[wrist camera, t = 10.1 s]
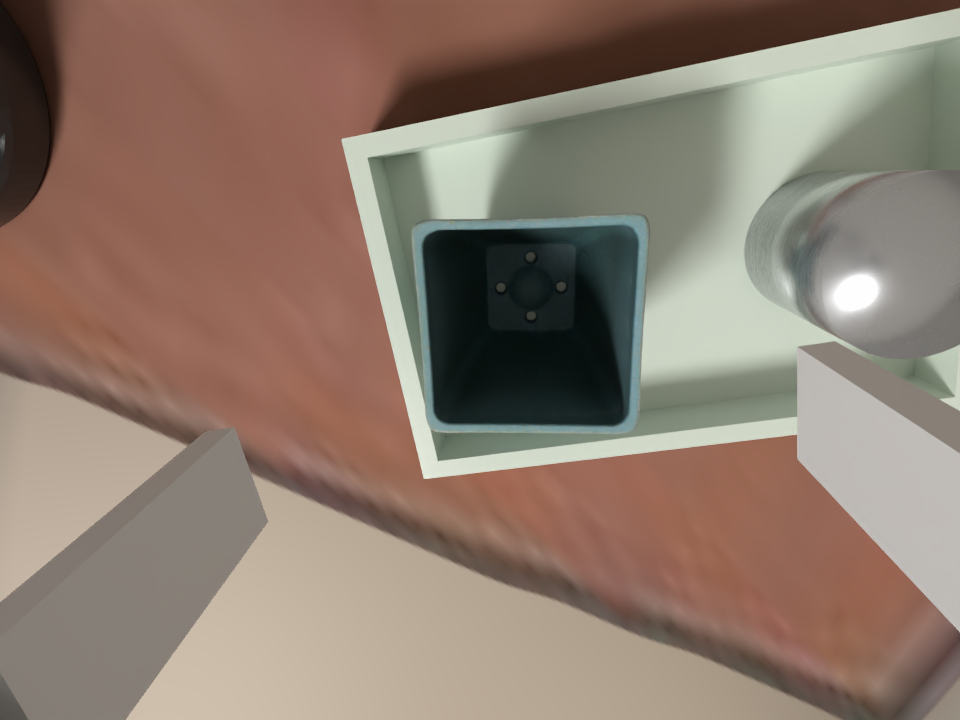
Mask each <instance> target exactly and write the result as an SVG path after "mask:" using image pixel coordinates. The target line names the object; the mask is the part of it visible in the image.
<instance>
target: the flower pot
mask: <svg viewBox="0 0 960 720" xmlns="http://www.w3.org/2000/svg"><path fill="white" fill-rule="evenodd" d="M649 244H650V225H649V221H648V218H647V217H646V216H645V215H642V214H639V213H621V214H608V215H587V216H566V217H540V218H539V217H538V218H502V219H428V220H422V221H420V222H418V223H416V224H415V225H414V227H413V229H412V251H413V258H414V269H415V279H416V291H417V299H418V300H417V303H418V310H419V324H420V327H419V328H420V337H421V348H422V362H423V379H424V394H425V415H426V420H427V423H428V426H429V427H430V429H432V430H433V431H435V432H443V433H487V432H488V433H568V434H580V433H581V434H584V433H585V434H624V433H629V432H632V431H633V430H635V428H636V426H637V424H638V421H639V411H640V387H641V364H642V363H641V361H642V344H643V325H644V312H645V298H646V283H647V269H648V255H649ZM529 252H533V253H534V254H535V256H536V258H535V260H534V261H533V262H529V261H527V260H526V254H527V253H529ZM559 282H564V283H565V284H566V289H565V290H564V291H558V290H557V288H556V285H557V283H559ZM498 283H503V284H505V286H506V288H505V291H503V292H499V291H498V290H497V288H496V287H497V284H498ZM531 311H533V312H535V314H536V318H535V319H533V320H529V319H528V318H527V313H528V312H531Z"/></svg>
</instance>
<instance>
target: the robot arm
mask: <svg viewBox="0 0 960 720" xmlns="http://www.w3.org/2000/svg"><path fill="white" fill-rule="evenodd" d="M49 136H50V132H49V116H48V108H47V102H46V97H45V93H44V89H43V85H42V82H41V78H40V75H39V73H38V70H37V67H36V64H35V62H34V60H33V57H32V55H31V53H30V51H29V49H28V46H27V44H26V42H25V41H24V39H23V37H22V35H21V33H20V32H19V30H18V28H17V27H16V25H15V24H14V22H13V20H12V19H11V17H10V16H9V15H8V13H7V12H6V10H5V9H4V8H3V7H2V5H1V4H0V227H1V226H3V225H5V224H6V223H8V222H10V221H11V220H12V219H14V218H15V217H16V216H17V215H18V214H19V213H20V212H21V211H22V210H23V209H24V208H25V207H26V206H27V205H28V203H29V202H30V201H31V199H32V198H33V196H34V194H35V193H36V191H37V189H38V187H39V185H40V182H41V180H42V177H43V174H44V171H45V167H46V163H47V158H48V151H49ZM797 459H798V460H799V461H800V462H801V463H802V464H803V465H804V466H805V468H806V469H807V470H808V471H809V472H810V473H811V474H812V475H813V476H814V477H815V478H816V479H817V480H818V481H819V482H820V484H821V485H822V486H823V487H824V488H825V489H826V490H827V491H828V492H829V493H830V494H831V495H832V496H833V497H834V498H835V499H836V501H837V502H838V503H839V504H840V505H841V506H842V507H843V508H844V509H845V510H846V511H847V512H848V513H849V514H850V515H851V517H852V518H853V519H854V520H855V521H856V522H857V523H858V524H859V525H860V526H861V527H862V528H863V529H864V530H865V531H866V533H867V534H868V535H869V536H870V537H871V538H872V539H873V540H874V541H875V542H876V543H877V544H878V545H879V546H880V547H881V549H882V550H883V551H884V552H885V553H886V554H887V555H888V556H889V557H890V558H891V559H892V560H893V561H894V562H895V563H896V564H897V566H898V567H899V568H900V569H901V570H902V571H903V572H904V573H905V574H906V575H907V576H908V577H909V578H910V579H911V580H912V582H913V583H914V584H915V585H916V586H917V587H918V588H919V589H920V590H921V591H922V592H923V593H924V594H925V595H926V596H927V598H928V599H929V600H930V601H931V602H932V603H933V604H934V605H935V606H936V607H937V608H938V609H939V610H940V611H941V612H942V614H943V615H944V616H945V617H946V618H947V619H948V620H949V621H950V622H951V623H952V624H953V625H954V626H955V627H956V628H957V629H958V631H959V632H960V411H959V410H957V409H955V408H954V407H952V406H950V405H948V404H946V403H945V402H943V401H941V400H939V399H937V398H936V397H934V396H932V395H930V394H929V393H927V392H925V391H923V390H921V389H920V388H918V387H916V386H914V385H912V384H911V383H909V382H907V381H905V380H904V379H902V378H900V377H898V376H896V375H895V374H893V373H891V372H889V371H887V370H886V369H884V368H882V367H880V366H878V365H877V364H875V363H873V362H871V361H870V360H868V359H866V358H864V357H862V356H861V355H859V354H857V353H855V352H853V351H852V350H850V349H848V348H846V347H845V346H843V345H841V344H839V343H837V342H836V341H833V342H826V343H819V344H812V345H805V346H798V347H797ZM267 522H268V520H267V517H266V514H265V511H264V509H263V506H262V503H261V501H260V498H259V495H258V492H257V489H256V487H255V484H254V481H253V478H252V475H251V472H250V470H249V467H248V464H247V461H246V459H245V456H244V453H243V450H242V447H241V445H240V442H239V439H238V436H237V433H236V431H235V428H234V427H233V428H226V429H219V430H212V431H206V432H204V433H203V434H202V435H201V436H200V437H198V438H197V439H196V440H195V441H194V442H192V443H191V444H190V445H189V446H188V447H186V448H185V449H184V450H183V451H182V452H181V453H179V454H178V455H177V456H176V457H174V458H173V459H172V460H171V461H170V462H168V463H167V464H166V465H165V466H164V467H162V468H161V469H160V470H159V471H158V472H156V473H155V474H154V475H153V476H152V477H150V478H149V479H148V480H147V481H146V482H144V483H143V484H142V485H141V486H140V487H138V488H137V489H136V490H135V491H133V492H132V493H131V494H130V495H129V496H127V497H126V498H125V499H124V500H123V501H122V502H120V503H119V504H118V505H117V506H115V507H114V508H113V509H112V510H111V511H110V512H108V513H107V514H106V515H105V516H103V518H101V519H100V520H99V521H97V522H96V523H95V524H94V525H93V526H91V527H90V528H89V529H88V530H87V531H85V532H84V533H83V534H82V535H81V536H80V537H78V538H77V539H76V540H75V541H73V542H72V543H71V544H70V545H69V546H67V547H66V548H65V549H64V550H63V551H62V552H60V553H59V554H58V555H57V556H55V557H54V558H53V559H52V560H51V561H49V562H48V563H47V564H46V565H45V566H43V567H42V568H41V569H40V570H39V571H37V572H36V573H35V574H34V575H33V576H31V577H30V578H29V579H28V580H27V581H26V582H24V583H23V584H22V585H21V586H19V587H18V588H17V589H16V590H15V591H13V592H12V593H11V594H10V595H9V596H8V597H7V598H5V599H4V600H3V601H1V602H0V720H126V718H127V717H128V715H129V714H130V713H131V711H132V710H133V708H134V707H135V706H136V704H137V703H138V702H139V700H140V699H141V697H142V696H143V695H144V693H145V692H146V690H147V689H148V688H149V686H150V685H151V684H152V682H153V681H154V679H155V678H156V677H157V675H158V674H159V672H160V671H161V669H162V668H163V667H164V665H165V664H166V663H167V661H168V660H169V659H170V657H171V655H172V654H173V653H174V651H175V650H176V649H177V647H178V646H179V645H180V643H181V642H182V640H183V639H184V638H185V636H186V635H187V634H188V632H189V631H190V629H191V628H192V627H193V625H194V624H195V622H196V621H197V620H198V618H199V617H200V615H201V614H202V613H203V611H204V610H205V608H206V607H207V606H208V604H209V603H210V601H211V600H212V599H213V597H214V596H215V595H216V593H217V591H218V590H219V589H220V588H221V586H222V585H223V583H224V582H225V581H226V579H227V578H228V577H229V575H230V574H231V572H232V571H233V570H234V568H235V567H236V565H237V564H238V562H239V561H240V560H241V558H242V557H243V556H244V554H245V553H246V552H247V550H248V549H249V547H250V546H251V545H252V543H253V542H254V540H255V539H256V537H257V536H258V535H259V533H260V532H261V531H262V529H263V528H264V527H265V525H266V524H267Z"/></svg>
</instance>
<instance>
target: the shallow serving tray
mask: <svg viewBox="0 0 960 720" xmlns="http://www.w3.org/2000/svg"><path fill="white" fill-rule="evenodd" d="M341 140H342V144H343V148H344V152H345V156H346V160H347V164H348V168H349V173H350V177H351V181H352V185H353V189H354V193H355V197H356V201H357V205H358V209H359V214H360V218H361V222H362V226H363V230H364V234H365V238H366V242H367V246H368V251H369V255H370V259H371V263H372V267H373V271H374V275H375V279H376V283H377V288H378V292H379V296H380V300H381V304H382V308H383V312H384V316H385V320H386V324H387V329H388V333H389V337H390V341H391V345H392V349H393V353H394V357H395V361H396V366H397V370H398V374H399V378H400V382H401V386H402V390H403V394H404V398H405V402H406V407H407V411H408V415H409V419H410V423H411V427H412V431H413V435H414V439H415V444H416V448H417V452H418V456H419V460H420V464H421V468H422V472H423V476H424V479H429V478H437V477H445V476H454V475H462V474H470V473H479V472H487V471H496V470H504V469H512V468H521V467H529V466H537V465H546V464H554V463H562V462H571V461H579V460H587V459H596V458H604V457H613V456H621V455H629V454H638V453H646V452H654V451H663V450H671V449H679V448H688V447H696V446H704V445H713V444H721V443H729V442H738V441H746V440H755V439H763V438H771V437H780V436H788V435H796V434H797V347H798V346H805V345H812V344H819V343H826V342H833V341H836V342H837V343H839V344H841V345H843V346H845V347H846V348H848V349H850V350H852V351H853V352H855V353H857V354H859V355H861V356H862V357H864V358H866V359H868V360H870V361H871V362H873V363H875V364H877V365H878V366H880V367H882V368H884V369H886V370H887V371H889V372H891V373H893V374H895V375H896V376H898V377H900V378H902V379H904V380H905V381H907V382H909V383H911V384H912V385H914V386H916V387H918V388H920V389H921V390H923V391H925V392H927V393H929V394H930V395H932V396H934V397H936V398H937V399H939V400H941V401H943V402H945V403H946V404H948V405H950V406H952V407H954V408H955V409H957V410H959V411H960V345H958V346H956V347H954V348H951V349H949V350H946V351H944V352H941V353H938V354H935V355H931V356H927V357H921V358H915V359H890V358H884V357H879V356H875V355H872V354H869V353H867V352H864V351H862V350H860V349H858V348H856V347H854V346H852V345H850V344H849V343H847V342H845V341H843V340H841V339H839V338H837V337H836V336H834V335H832V334H830V333H828V332H826V331H824V330H823V329H821V328H819V327H817V326H815V325H813V324H811V323H810V322H808V321H806V320H804V319H802V318H800V317H798V316H796V315H795V314H793V313H791V312H789V311H787V310H785V309H783V308H782V307H780V306H778V305H776V304H774V303H772V302H771V301H769V300H768V299H766V298H765V297H764V296H763V295H762V294H761V293H760V292H759V291H758V290H757V289H756V288H755V286H754V285H753V283H752V282H751V280H750V278H749V275H748V273H747V269H746V265H745V258H744V246H745V240H746V235H747V232H748V229H749V226H750V224H751V222H752V219H753V218H754V216H755V214H756V213H757V211H758V210H759V208H760V207H761V206H762V204H763V203H764V202H765V201H766V200H767V199H768V198H769V196H770V195H772V194H773V193H774V192H775V191H776V190H777V189H779V188H780V187H782V186H783V185H785V184H786V183H788V182H789V181H791V180H793V179H795V178H797V177H800V176H803V175H805V174H809V173H813V172H817V171H826V170H960V8H959V9H954V10H949V11H944V12H940V13H935V14H930V15H925V16H921V17H916V18H911V19H907V20H902V21H897V22H892V23H888V24H883V25H878V26H874V27H869V28H864V29H859V30H855V31H850V32H845V33H840V34H836V35H831V36H826V37H822V38H817V39H812V40H807V41H803V42H798V43H793V44H789V45H784V46H779V47H774V48H770V49H765V50H760V51H755V52H751V53H746V54H741V55H737V56H732V57H727V58H722V59H718V60H713V61H708V62H704V63H699V64H694V65H689V66H685V67H680V68H675V69H670V70H666V71H661V72H656V73H652V74H647V75H642V76H637V77H633V78H628V79H623V80H619V81H614V82H609V83H604V84H600V85H595V86H590V87H585V88H581V89H576V90H571V91H567V92H562V93H557V94H552V95H548V96H543V97H538V98H534V99H529V100H524V101H519V102H515V103H510V104H505V105H500V106H496V107H491V108H486V109H482V110H477V111H472V112H467V113H463V114H458V115H453V116H449V117H444V118H439V119H434V120H430V121H425V122H420V123H415V124H411V125H406V126H401V127H397V128H392V129H387V130H382V131H378V132H373V133H368V134H364V135H359V136H354V137H349V138H345V139H341ZM621 213H639V214H642V215H645V216H646V217H647V218H648V221H649V225H650V244H649V255H648V269H647V283H646V298H645V312H644V325H643V344H642V361H641V363H642V364H641V387H640V411H639V421H638V424H637V426H636V428H635V430H633V431H632V432H629V433H624V434H585V433H584V434H581V433H580V434H568V433H488V432H487V433H443V432H435V431H433V430H432V429H430V427H429V426H428V423H427V420H426V415H425V394H424V379H423V362H422V348H421V337H420V328H419V327H420V324H419V310H418V303H417V300H418V299H417V291H416V279H415V269H414V258H413V251H412V229H413V227H414V225H415V224H416V223H418V222H420V221H422V220H428V219H502V218H538V217H539V218H540V217H566V216H587V215H608V214H621ZM535 258H536V256H535V254H534V253H533V252H529V253H527V254H526V260H527V261H529V262H533V261H534V260H535ZM496 288H497V290H498V291H499V292H503V291H505V288H506V286H505V284H503V283H498V284H497V287H496ZM556 288H557V290H558V291H564V290H565V289H566V284H565V283H564V282H559V283H557V285H556ZM527 318H528V319H529V320H533V319H535V318H536V314H535V312H533V311H531V312H528V313H527Z"/></svg>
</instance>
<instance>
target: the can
mask: <svg viewBox="0 0 960 720" xmlns="http://www.w3.org/2000/svg"><path fill="white" fill-rule="evenodd" d="M744 258H745V265H746V269H747V273H748V275H749V278H750V280H751V282H752V283H753V285H754V286H755V288H756V289H757V290H758V291H759V292H760V293H761V294H762V295H763V296H764V297H765V298H766V299H768V300H769V301H771V302H772V303H774V304H776V305H778V306H780V307H782V308H783V309H785V310H787V311H789V312H791V313H793V314H795V315H796V316H798V317H800V318H802V319H804V320H806V321H808V322H810V323H811V324H813V325H815V326H817V327H819V328H821V329H823V330H824V331H826V332H828V333H830V334H832V335H834V336H836V337H837V338H839V339H841V340H843V341H845V342H847V343H849V344H850V345H852V346H854V347H856V348H858V349H860V350H862V351H864V352H867V353H869V354H872V355H875V356H879V357H884V358H890V359H915V358H921V357H927V356H931V355H935V354H938V353H941V352H944V351H946V350H949V349H951V348H954V347H956V346H958V345H960V170H826V171H817V172H813V173H809V174H805V175H803V176H800V177H797V178H795V179H793V180H791V181H789V182H788V183H786V184H785V185H783V186H782V187H780V188H779V189H777V190H776V191H775V192H774V193H773V194H772V195H770V196H769V198H768V199H767V200H766V201H765V202H764V203H763V204H762V206H761V207H760V208H759V210H758V211H757V213H756V214H755V216H754V218H753V219H752V222H751V224H750V226H749V229H748V232H747V235H746V240H745V246H744Z"/></svg>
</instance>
